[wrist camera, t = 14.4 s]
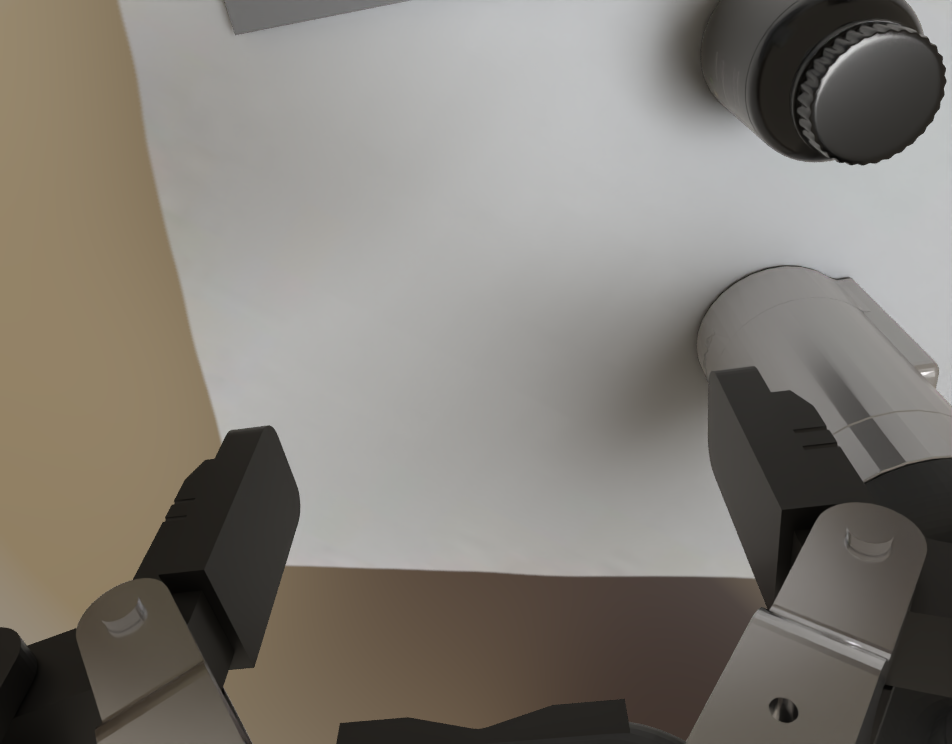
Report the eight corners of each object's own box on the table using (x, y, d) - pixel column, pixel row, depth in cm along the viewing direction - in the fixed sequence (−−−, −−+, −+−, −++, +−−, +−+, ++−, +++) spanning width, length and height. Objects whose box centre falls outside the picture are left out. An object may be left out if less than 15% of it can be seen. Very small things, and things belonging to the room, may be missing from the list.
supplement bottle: (805, -72, 34) (950, -55, 24) (857, 58, 37) (1006, 122, 27) (670, 25, 36) (752, 78, 26) (730, 140, 39) (824, 227, 29)
